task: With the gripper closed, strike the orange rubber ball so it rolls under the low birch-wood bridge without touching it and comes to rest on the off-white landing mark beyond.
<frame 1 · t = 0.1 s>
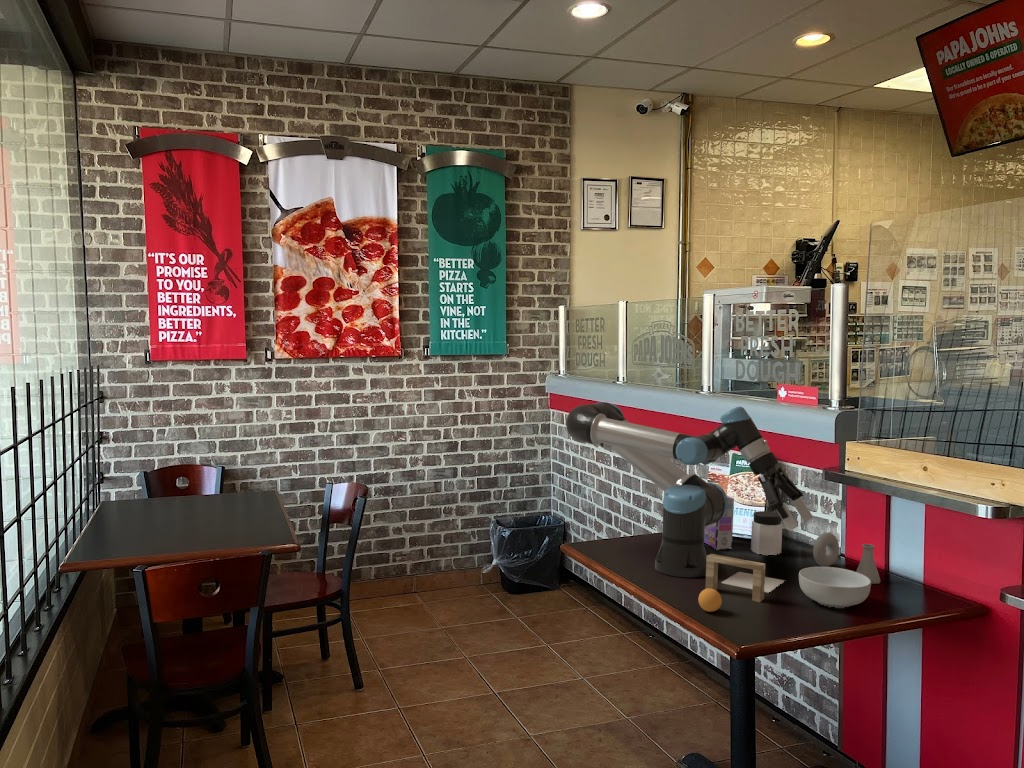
hand: (801, 524, 228), 15 cm above the table, tool tilted 35°, fingers open, 13 cm apart
jar: (765, 552, 257), on the table
bridge: (734, 594, 214), on the table
ball: (710, 600, 201), on the table
donut: (825, 567, 242), on the table
candy box: (714, 545, 264), on the table
cereal bowl: (833, 604, 209), on the table
flask: (866, 581, 229), on the table
landing mark: (753, 582, 225), on the table
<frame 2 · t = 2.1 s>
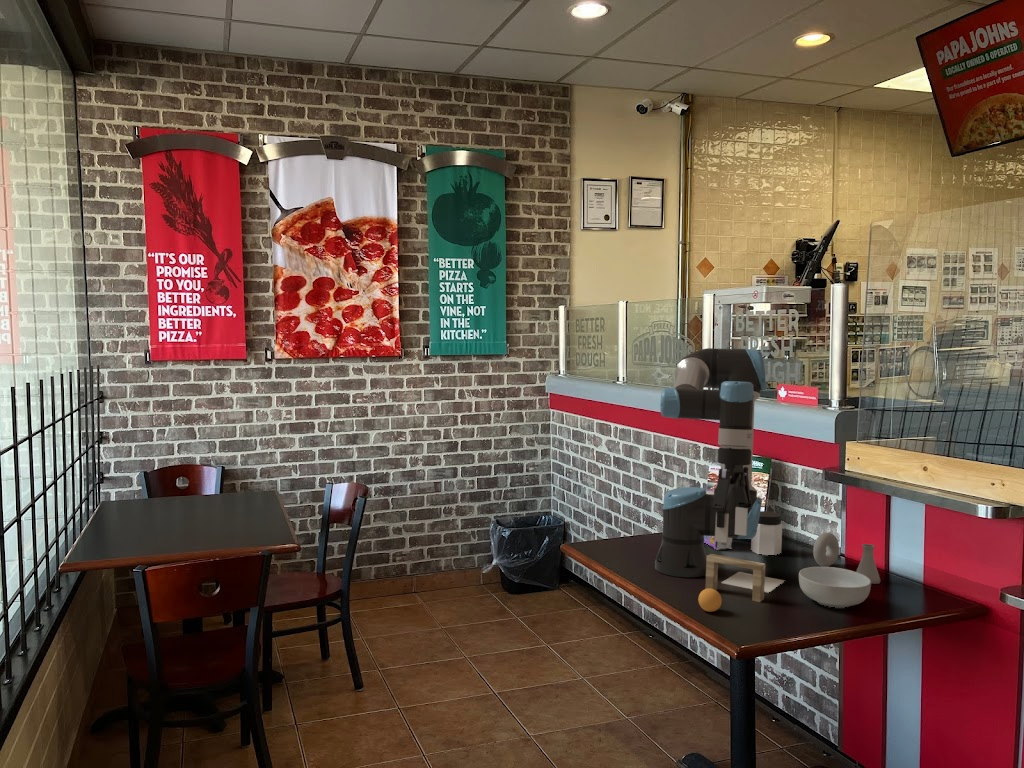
hand: (731, 538, 194), 20 cm above the table, tool pointing down, fingers open, 13 cm apart
nothing on the table moved.
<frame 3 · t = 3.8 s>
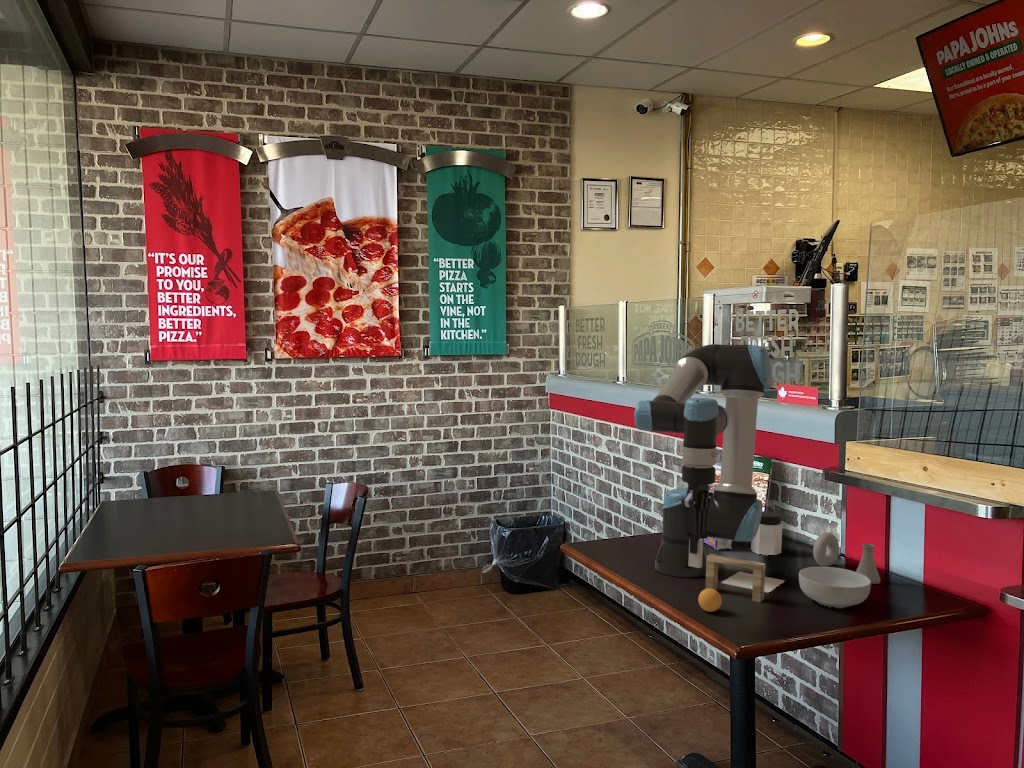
hand: (695, 566, 192), 13 cm above the table, tool pointing down, fingers closed
nothing on the table moved.
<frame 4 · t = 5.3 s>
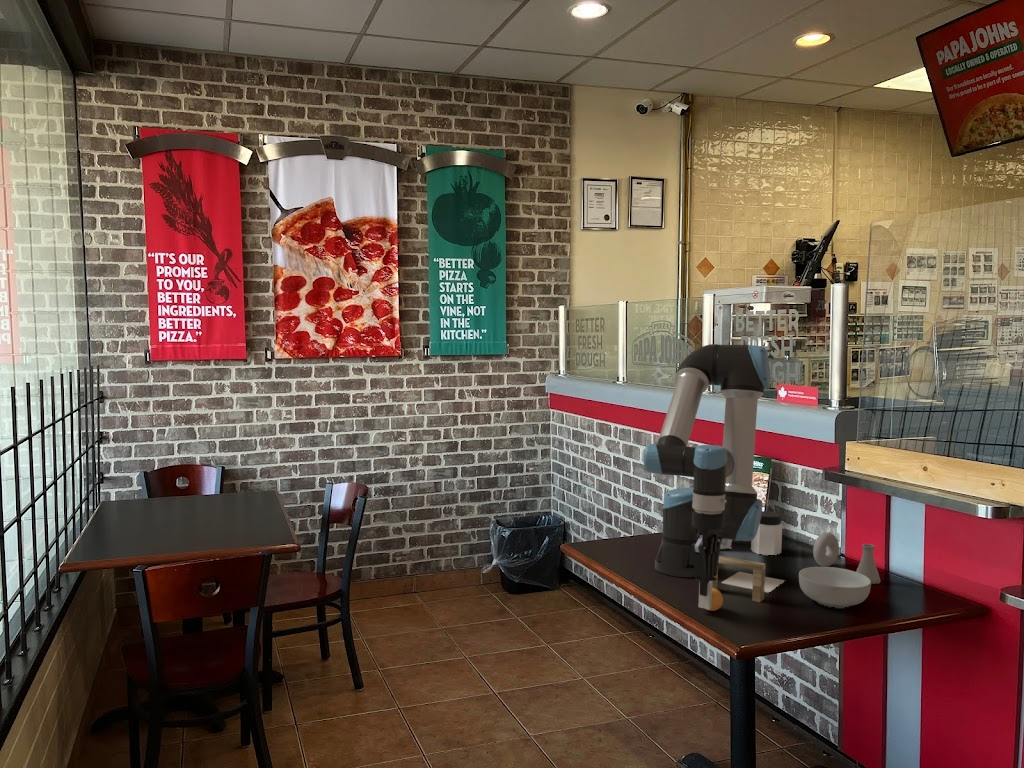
hand: (704, 607, 199), 2 cm above the table, tool pointing down, fingers closed
ball: (711, 599, 202), on the table, touching gripper
everything else where it was.
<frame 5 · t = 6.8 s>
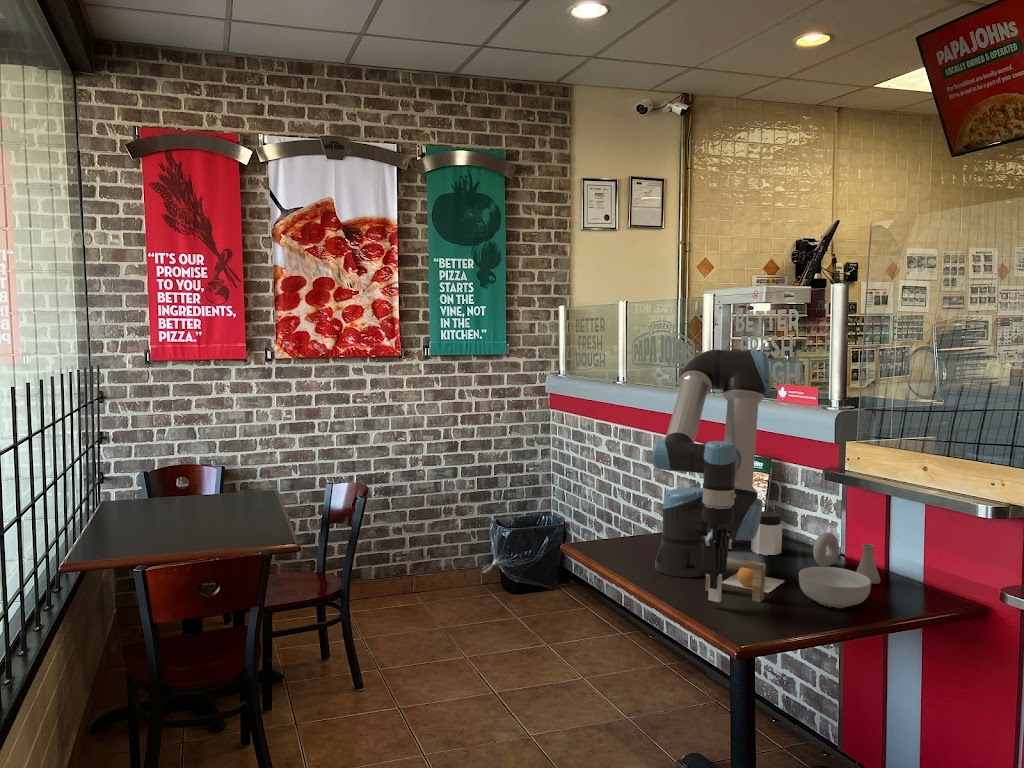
hand: (714, 600, 203), 2 cm above the table, tool pointing down, fingers closed
ball: (747, 576, 221), on the table
everything else where it was.
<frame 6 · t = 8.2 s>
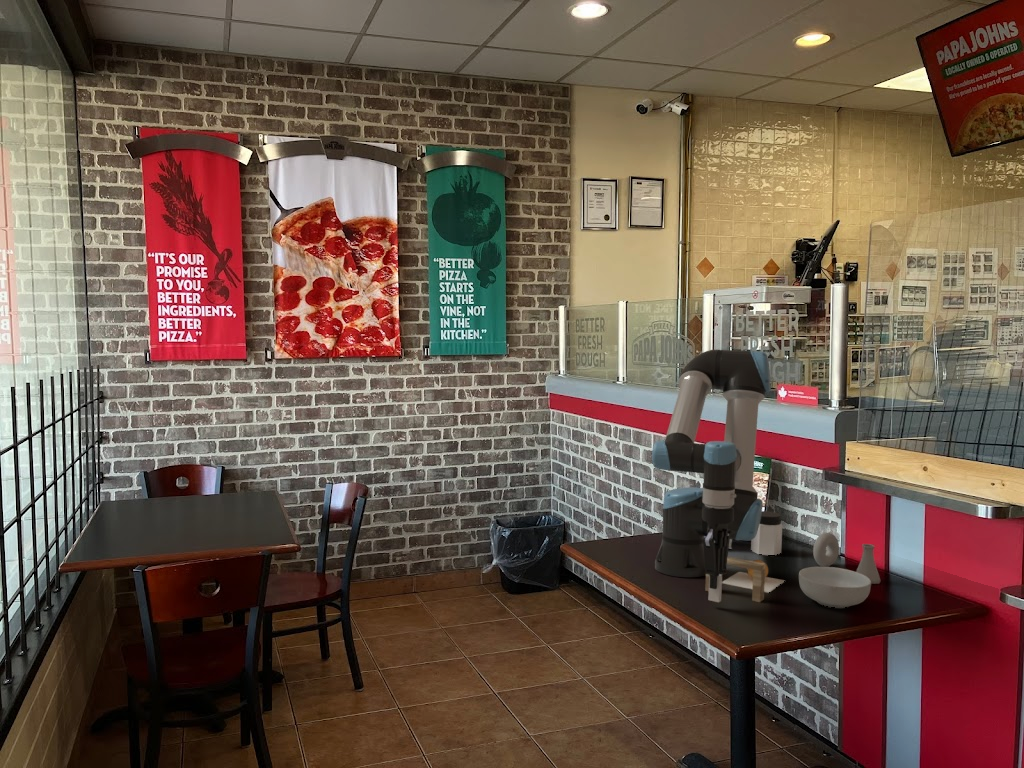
hand: (714, 600, 203), 2 cm above the table, tool pointing down, fingers closed
ball: (757, 569, 227), on the table
everything else where it was.
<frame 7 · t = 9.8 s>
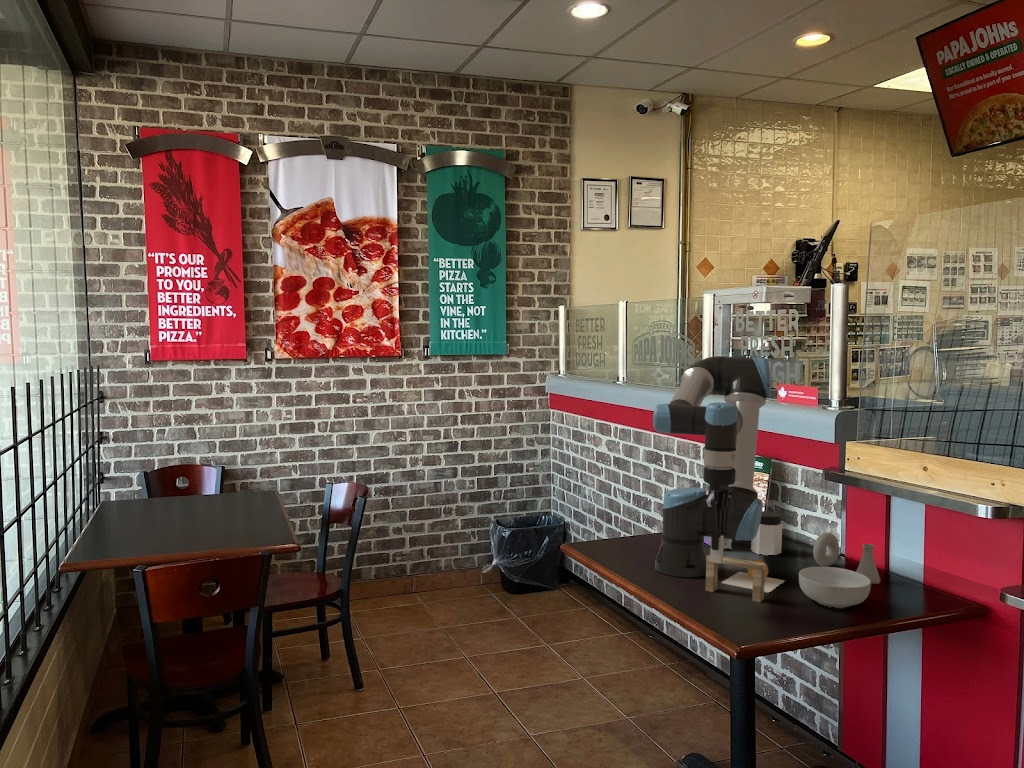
hand: (716, 561, 203), 11 cm above the table, tool pointing down, fingers closed
nothing on the table moved.
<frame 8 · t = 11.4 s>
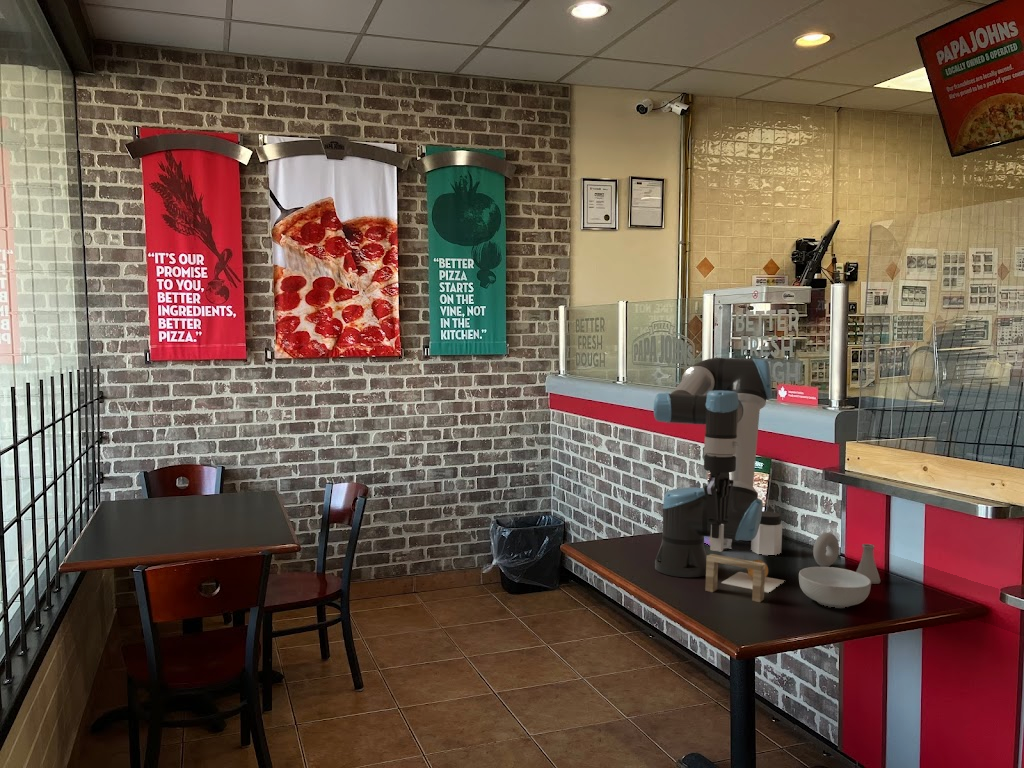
hand: (716, 550, 203), 14 cm above the table, tool pointing down, fingers closed
nothing on the table moved.
at the end: ball 2.9 cm from the landing mark (horizontally); ball never touched bridge; ball at rest at the end (0.0 cm/s) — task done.
